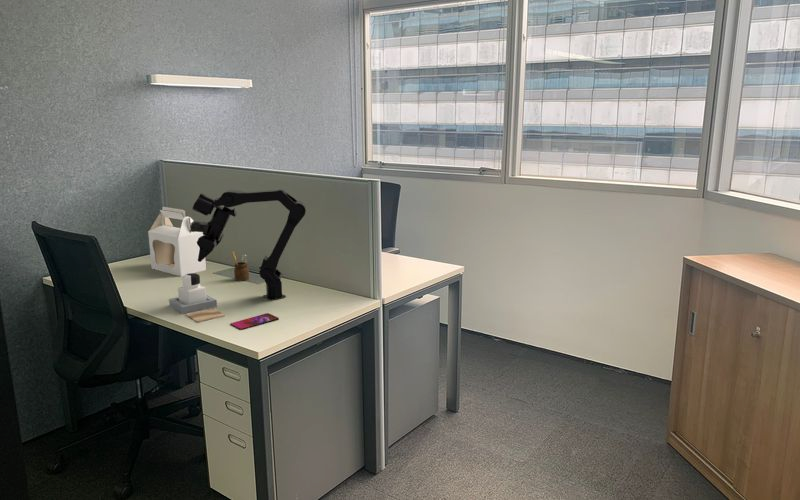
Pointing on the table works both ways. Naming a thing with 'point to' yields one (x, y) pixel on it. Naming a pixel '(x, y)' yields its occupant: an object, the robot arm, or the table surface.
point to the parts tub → (192, 305)
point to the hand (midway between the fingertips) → (201, 258)
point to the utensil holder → (241, 270)
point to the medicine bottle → (191, 290)
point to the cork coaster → (205, 315)
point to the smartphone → (254, 321)
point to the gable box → (174, 244)
